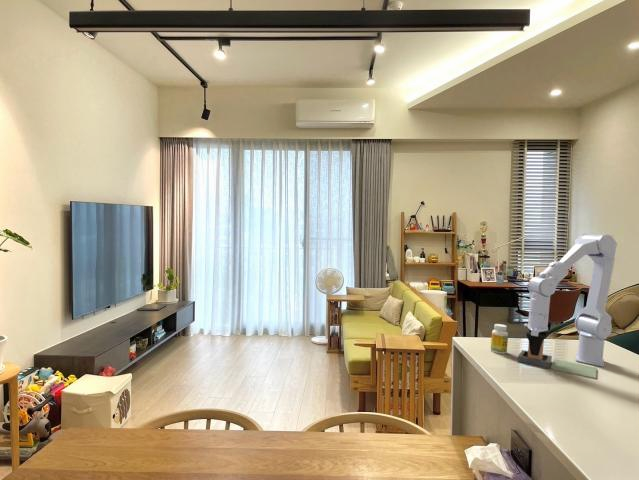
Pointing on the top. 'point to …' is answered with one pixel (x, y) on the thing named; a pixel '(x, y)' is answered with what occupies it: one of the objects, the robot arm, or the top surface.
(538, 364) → the metal collar
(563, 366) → the rubber mat
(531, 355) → the peg
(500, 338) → the supplement bottle
